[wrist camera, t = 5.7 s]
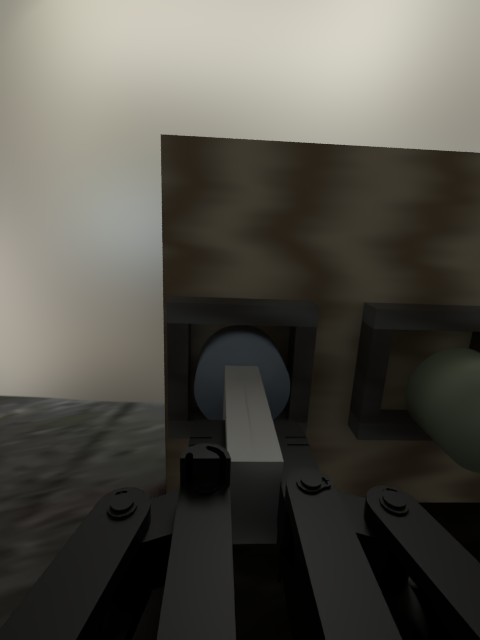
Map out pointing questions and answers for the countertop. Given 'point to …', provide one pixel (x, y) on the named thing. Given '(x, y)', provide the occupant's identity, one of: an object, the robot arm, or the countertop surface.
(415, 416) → the sage button
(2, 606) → the countertop surface
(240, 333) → the slate blue button
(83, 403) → the countertop surface
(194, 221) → the button panel
